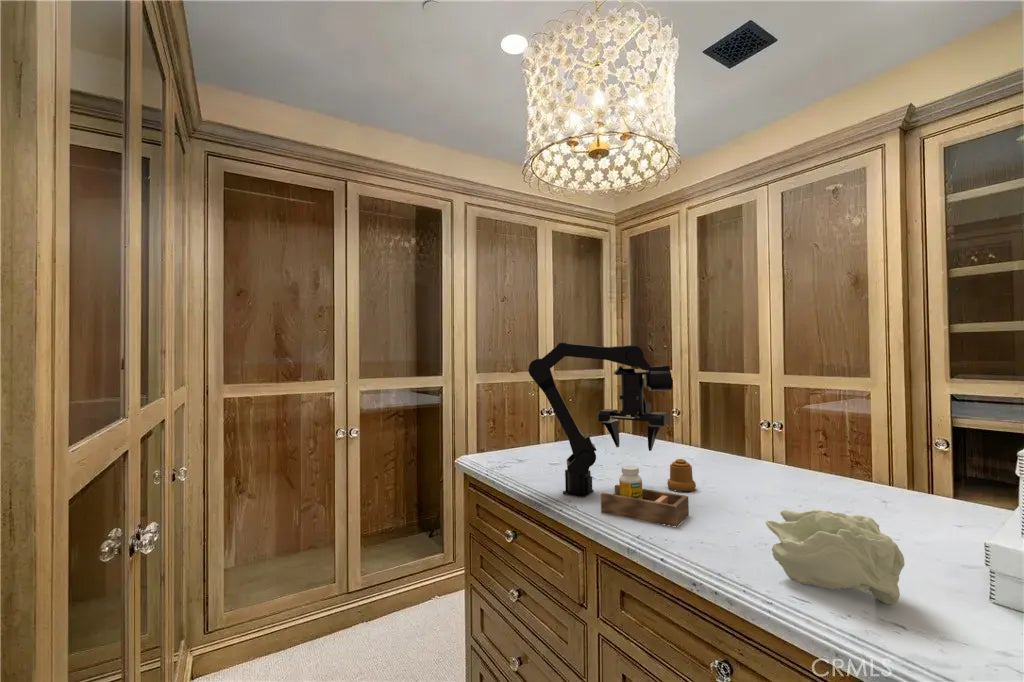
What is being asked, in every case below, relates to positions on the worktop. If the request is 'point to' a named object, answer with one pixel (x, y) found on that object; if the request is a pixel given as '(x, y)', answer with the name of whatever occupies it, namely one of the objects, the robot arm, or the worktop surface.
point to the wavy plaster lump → (838, 552)
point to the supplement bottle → (630, 482)
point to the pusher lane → (647, 506)
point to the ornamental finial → (681, 476)
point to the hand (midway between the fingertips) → (633, 448)
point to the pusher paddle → (662, 499)
